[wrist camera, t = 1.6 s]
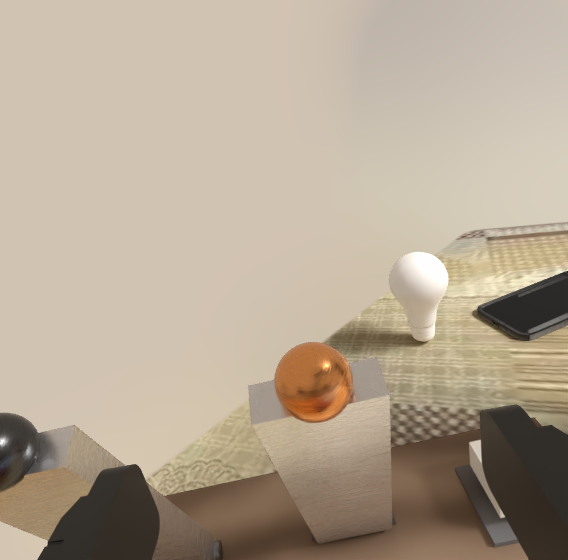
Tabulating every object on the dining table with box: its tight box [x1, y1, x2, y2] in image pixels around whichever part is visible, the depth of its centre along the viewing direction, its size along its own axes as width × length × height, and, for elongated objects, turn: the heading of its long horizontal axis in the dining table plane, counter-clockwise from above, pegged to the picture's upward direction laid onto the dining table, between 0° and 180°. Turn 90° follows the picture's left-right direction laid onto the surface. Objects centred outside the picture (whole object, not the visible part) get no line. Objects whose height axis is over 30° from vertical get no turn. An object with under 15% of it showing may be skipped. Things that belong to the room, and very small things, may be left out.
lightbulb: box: [389, 252, 448, 342], centre depth 46 cm, size 6×6×11 cm
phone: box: [478, 271, 568, 341], centre depth 48 cm, size 8×1×15 cm
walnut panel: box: [164, 418, 542, 560], centre depth 28 cm, size 12×32×2 cm, turn 94°
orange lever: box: [248, 342, 396, 544], centre depth 21 cm, size 3×6×21 cm, turn 93°
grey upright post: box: [0, 413, 223, 560], centre depth 21 cm, size 3×6×21 cm, turn 93°
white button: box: [469, 440, 505, 518], centre depth 27 cm, size 4×4×3 cm
